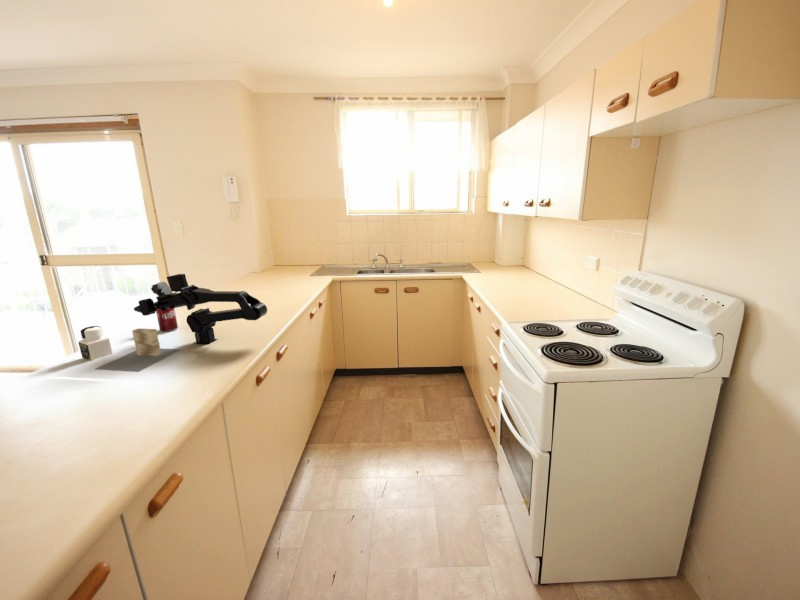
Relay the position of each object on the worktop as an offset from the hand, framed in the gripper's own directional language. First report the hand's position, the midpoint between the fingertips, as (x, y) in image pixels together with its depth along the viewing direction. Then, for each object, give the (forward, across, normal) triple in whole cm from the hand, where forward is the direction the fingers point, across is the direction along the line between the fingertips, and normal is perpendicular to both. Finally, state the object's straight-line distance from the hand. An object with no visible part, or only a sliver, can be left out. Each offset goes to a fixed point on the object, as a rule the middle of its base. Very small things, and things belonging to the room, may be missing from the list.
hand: (143, 307), depth 147 cm
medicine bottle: (+12, +15, +15) cm, 24 cm away
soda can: (+7, -17, +14) cm, 23 cm away
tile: (-8, +13, +18) cm, 23 cm away
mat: (-8, +17, +19) cm, 26 cm away
